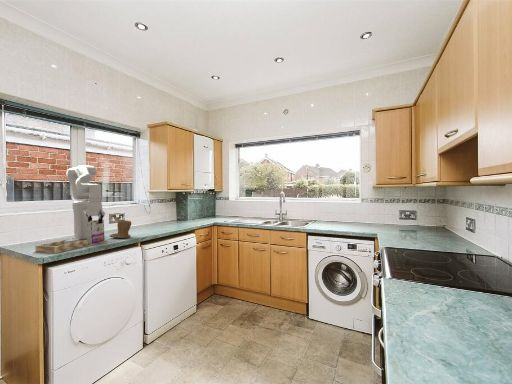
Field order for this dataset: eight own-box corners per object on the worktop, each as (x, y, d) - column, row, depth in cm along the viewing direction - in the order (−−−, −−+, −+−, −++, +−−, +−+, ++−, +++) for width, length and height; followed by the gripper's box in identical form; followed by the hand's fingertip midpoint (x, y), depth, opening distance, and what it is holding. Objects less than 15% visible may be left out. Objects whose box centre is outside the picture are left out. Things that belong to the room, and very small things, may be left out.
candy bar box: (99, 240, 189) (98, 219, 189) (104, 240, 187) (104, 219, 187) (86, 243, 178) (85, 221, 178) (91, 243, 177) (91, 221, 177)
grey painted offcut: (63, 244, 169) (63, 241, 169) (76, 242, 176) (76, 238, 176) (66, 245, 167) (66, 241, 167) (79, 242, 174) (79, 239, 174)
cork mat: (100, 241, 190) (100, 240, 190) (107, 241, 188) (107, 240, 188) (83, 244, 176) (83, 244, 176) (91, 245, 175) (91, 244, 175)
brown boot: (134, 236, 206) (134, 219, 206) (122, 239, 195) (122, 220, 195) (121, 236, 211) (121, 218, 211) (108, 238, 200) (108, 220, 200)
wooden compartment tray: (69, 244, 178) (68, 239, 178) (87, 245, 174) (87, 239, 174) (35, 251, 157) (35, 245, 157) (55, 253, 153) (55, 246, 153)
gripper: (81, 200, 181) (81, 223, 181) (100, 201, 177) (100, 224, 177) (90, 199, 188) (90, 222, 189) (108, 200, 184) (108, 223, 184)
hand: (95, 223), depth 183 cm, fingers open, 9 cm apart
